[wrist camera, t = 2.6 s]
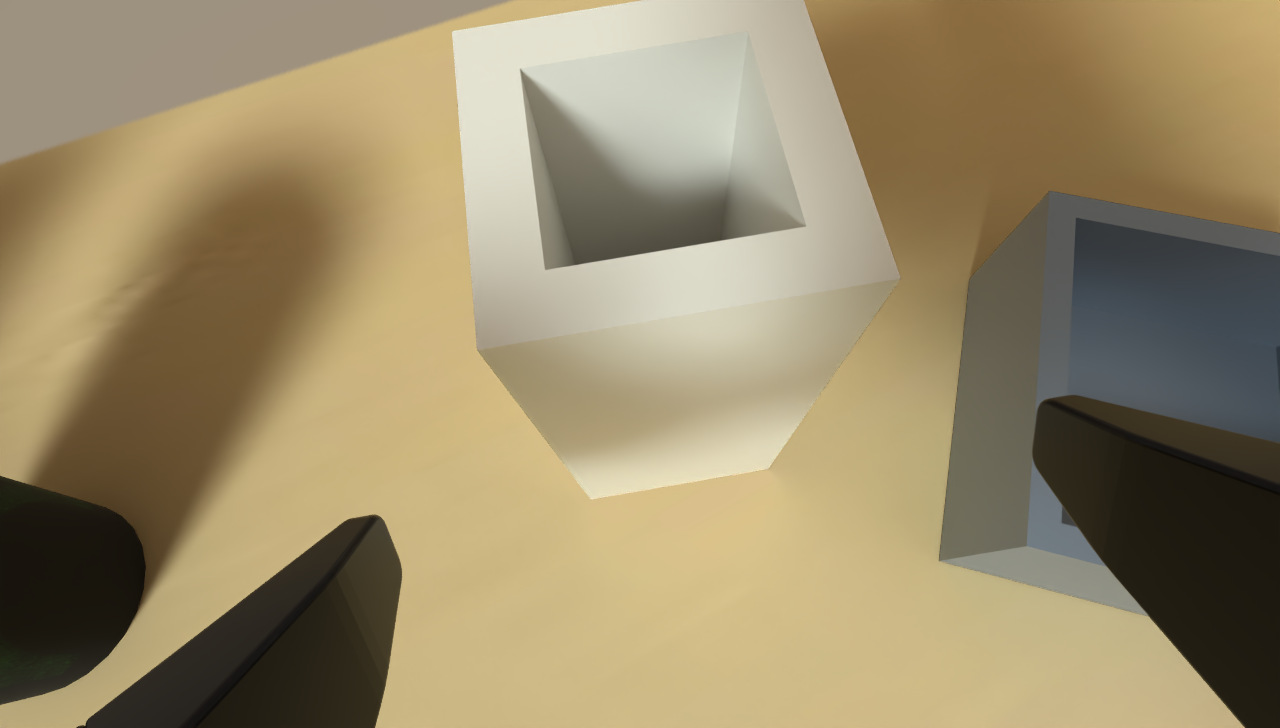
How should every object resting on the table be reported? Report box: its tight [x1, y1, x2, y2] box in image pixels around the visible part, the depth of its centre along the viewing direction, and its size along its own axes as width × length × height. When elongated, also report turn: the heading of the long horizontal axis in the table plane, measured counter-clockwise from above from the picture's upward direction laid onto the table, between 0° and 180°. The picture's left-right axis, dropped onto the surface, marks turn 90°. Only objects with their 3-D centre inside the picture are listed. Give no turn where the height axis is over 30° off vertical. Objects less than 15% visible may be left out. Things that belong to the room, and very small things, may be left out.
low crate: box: [939, 191, 1280, 616], centre depth 17 cm, size 10×10×5 cm
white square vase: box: [452, 0, 901, 500], centre depth 15 cm, size 6×6×12 cm
